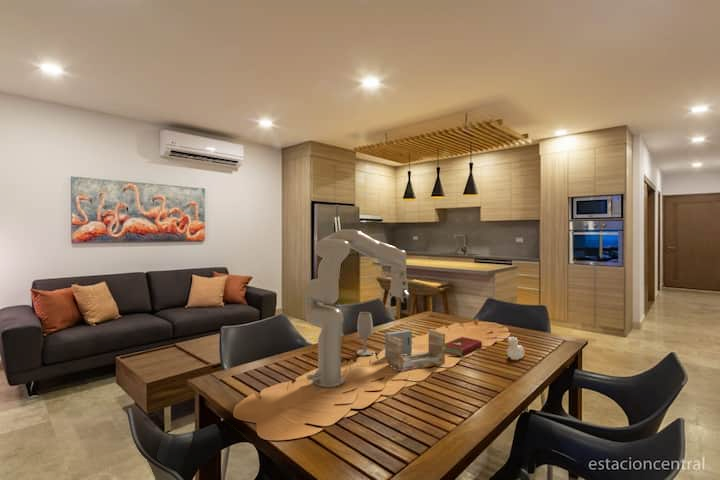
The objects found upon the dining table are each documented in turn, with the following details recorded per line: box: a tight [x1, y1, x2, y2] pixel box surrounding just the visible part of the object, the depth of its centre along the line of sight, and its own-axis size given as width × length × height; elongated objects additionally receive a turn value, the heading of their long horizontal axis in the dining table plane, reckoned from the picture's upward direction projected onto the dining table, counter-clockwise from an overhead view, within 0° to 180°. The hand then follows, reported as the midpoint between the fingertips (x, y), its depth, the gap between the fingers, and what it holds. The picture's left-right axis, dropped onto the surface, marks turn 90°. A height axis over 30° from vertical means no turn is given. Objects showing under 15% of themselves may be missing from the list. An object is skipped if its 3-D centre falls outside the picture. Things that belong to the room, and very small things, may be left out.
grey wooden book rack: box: [386, 328, 446, 372], centre depth 178 cm, size 26×10×14 cm, turn 117°
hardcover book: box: [445, 336, 483, 357], centre depth 201 cm, size 12×21×4 cm, turn 135°
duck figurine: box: [506, 336, 526, 361], centre depth 188 cm, size 12×8×11 cm
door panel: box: [384, 329, 413, 358], centre depth 190 cm, size 14×4×12 cm, turn 117°
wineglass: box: [356, 311, 374, 357], centre depth 193 cm, size 9×9×21 cm
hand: (398, 308), depth 190 cm, fingers open, 9 cm apart
